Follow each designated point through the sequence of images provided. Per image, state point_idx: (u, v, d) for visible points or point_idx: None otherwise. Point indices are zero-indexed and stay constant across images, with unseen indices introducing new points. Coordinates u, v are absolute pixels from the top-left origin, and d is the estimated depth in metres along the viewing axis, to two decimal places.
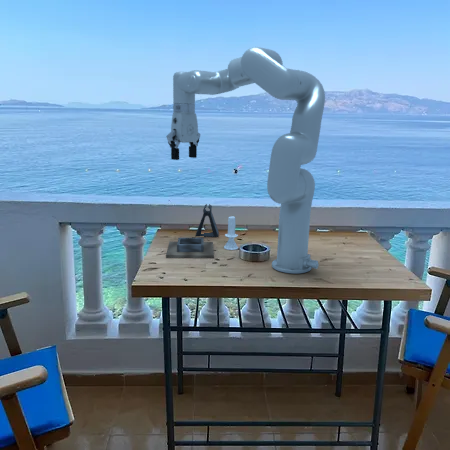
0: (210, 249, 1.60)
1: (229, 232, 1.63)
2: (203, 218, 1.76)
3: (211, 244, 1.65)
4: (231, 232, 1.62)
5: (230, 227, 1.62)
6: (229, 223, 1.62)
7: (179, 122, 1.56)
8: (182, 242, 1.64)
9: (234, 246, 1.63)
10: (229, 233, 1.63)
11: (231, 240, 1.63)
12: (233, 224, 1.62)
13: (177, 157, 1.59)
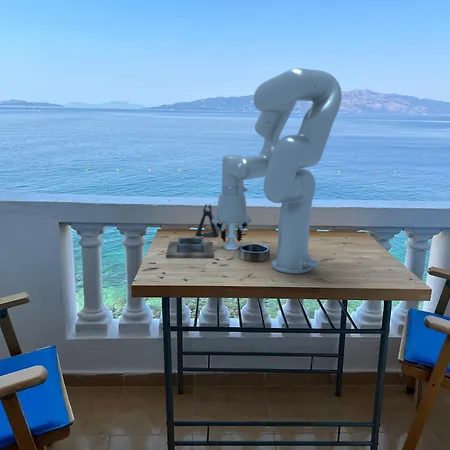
0: (210, 249, 1.60)
1: (229, 232, 1.63)
2: (203, 218, 1.76)
3: (211, 244, 1.65)
4: (231, 231, 1.62)
5: (230, 226, 1.62)
6: (229, 223, 1.62)
7: None
8: (182, 242, 1.64)
9: (234, 246, 1.63)
10: (229, 233, 1.63)
11: (231, 240, 1.64)
12: (233, 224, 1.62)
13: None
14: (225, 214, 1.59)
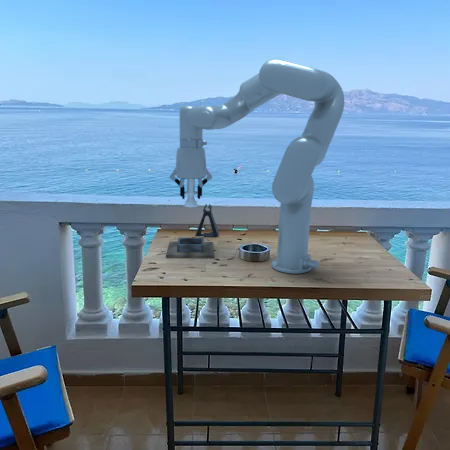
0: (210, 249, 1.60)
1: (188, 189, 1.54)
2: (203, 218, 1.76)
3: (211, 244, 1.65)
4: (190, 188, 1.54)
5: (189, 183, 1.54)
6: (188, 179, 1.54)
7: None
8: (182, 242, 1.64)
9: (194, 203, 1.55)
10: (188, 190, 1.54)
11: (191, 198, 1.55)
12: (192, 180, 1.53)
13: None
14: (183, 169, 1.51)
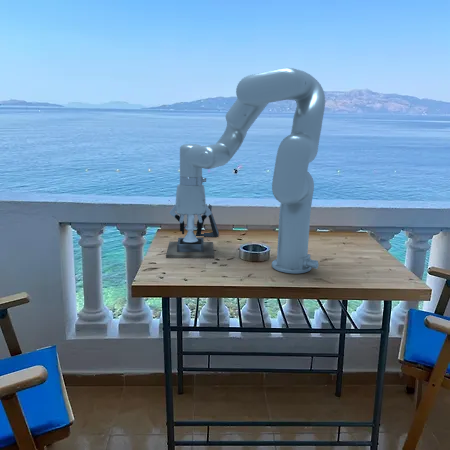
0: (210, 249, 1.60)
1: (188, 224, 1.57)
2: None
3: (211, 244, 1.65)
4: (190, 224, 1.57)
5: (189, 218, 1.57)
6: (188, 215, 1.57)
7: None
8: (182, 242, 1.64)
9: (193, 239, 1.58)
10: (188, 225, 1.58)
11: (190, 233, 1.58)
12: (192, 216, 1.57)
13: None
14: (183, 205, 1.54)
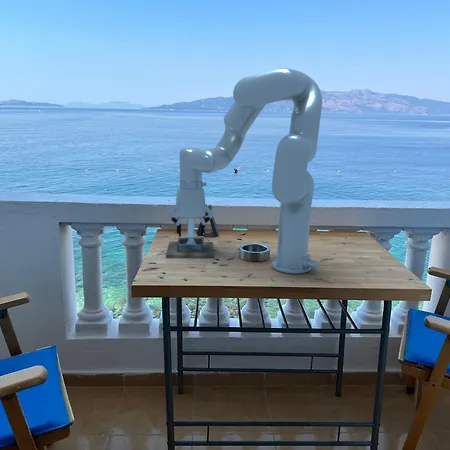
0: (210, 249, 1.60)
1: (188, 232, 1.58)
2: None
3: (211, 244, 1.65)
4: (191, 231, 1.58)
5: (189, 226, 1.57)
6: (188, 222, 1.57)
7: None
8: (182, 242, 1.64)
9: None
10: (188, 233, 1.58)
11: (191, 240, 1.59)
12: (192, 223, 1.57)
13: None
14: (183, 209, 1.54)
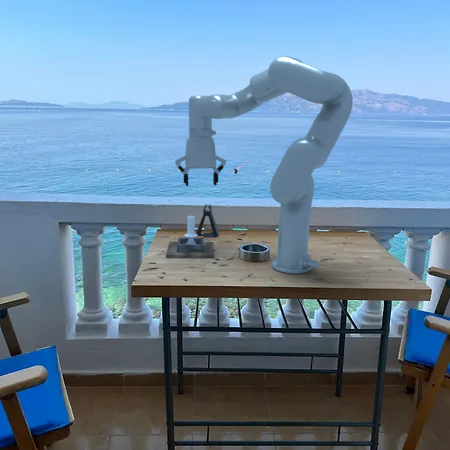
0: (210, 249, 1.60)
1: (188, 232, 1.58)
2: (203, 218, 1.76)
3: (211, 244, 1.65)
4: (190, 231, 1.58)
5: (189, 226, 1.57)
6: (188, 222, 1.57)
7: None
8: (182, 242, 1.64)
9: None
10: (188, 233, 1.58)
11: (191, 240, 1.59)
12: (192, 224, 1.57)
13: None
14: (193, 159, 1.51)
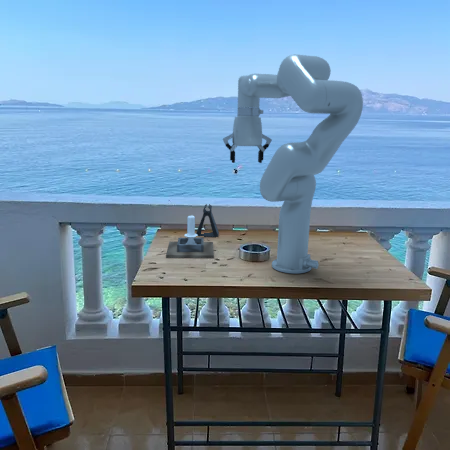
0: (210, 249, 1.60)
1: (188, 232, 1.58)
2: (203, 218, 1.76)
3: (211, 244, 1.65)
4: (190, 231, 1.58)
5: (189, 226, 1.57)
6: (188, 223, 1.57)
7: None
8: (182, 242, 1.64)
9: None
10: (188, 233, 1.58)
11: (191, 240, 1.59)
12: (192, 224, 1.57)
13: None
14: (241, 136, 1.58)
